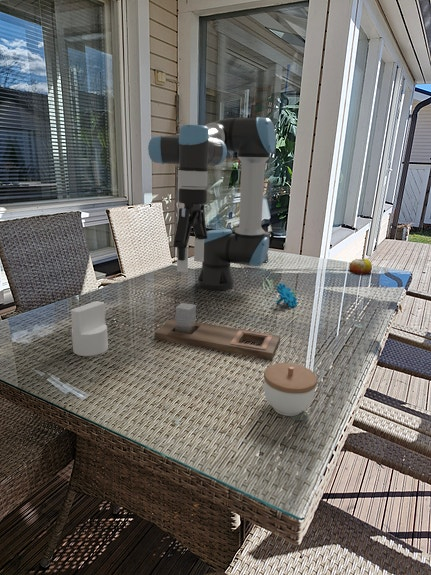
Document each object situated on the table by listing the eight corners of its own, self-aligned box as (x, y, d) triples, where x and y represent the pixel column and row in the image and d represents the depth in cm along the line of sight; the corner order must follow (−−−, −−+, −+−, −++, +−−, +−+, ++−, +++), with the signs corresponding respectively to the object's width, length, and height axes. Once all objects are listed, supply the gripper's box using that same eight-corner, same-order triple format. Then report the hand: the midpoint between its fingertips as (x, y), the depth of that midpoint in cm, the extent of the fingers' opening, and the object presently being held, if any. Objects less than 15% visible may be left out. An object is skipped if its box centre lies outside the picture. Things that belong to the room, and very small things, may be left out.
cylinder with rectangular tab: (89, 359, 101) (86, 315, 98) (65, 349, 106) (62, 307, 102) (115, 346, 109) (113, 305, 105) (92, 338, 113) (89, 298, 110)
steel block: (181, 331, 121) (181, 302, 118) (195, 333, 119) (195, 305, 117) (175, 336, 116) (175, 307, 114) (189, 339, 115) (190, 310, 112)
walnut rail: (172, 324, 125) (172, 317, 125) (279, 342, 115) (280, 335, 115) (154, 338, 114) (154, 331, 114) (272, 360, 104) (272, 352, 104)
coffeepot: (255, 264, 205) (258, 229, 200) (244, 260, 213) (246, 226, 207) (277, 261, 214) (280, 227, 209) (265, 257, 221) (268, 225, 216)
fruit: (351, 267, 206) (358, 253, 203) (370, 276, 202) (377, 262, 198) (344, 270, 197) (351, 256, 194) (363, 280, 193) (371, 265, 189)
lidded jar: (257, 394, 89) (260, 355, 86) (304, 393, 90) (308, 355, 87) (267, 424, 79) (271, 381, 76) (320, 422, 80) (325, 381, 77)
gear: (290, 306, 140) (275, 283, 143) (277, 315, 143) (263, 292, 146) (303, 303, 149) (289, 281, 151) (292, 311, 152) (278, 289, 155)
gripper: (194, 185, 118) (193, 256, 124) (160, 189, 95) (160, 275, 101) (219, 187, 116) (216, 258, 122) (190, 190, 93) (188, 278, 99)
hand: (191, 266), depth 112 cm, fingers open, 13 cm apart
